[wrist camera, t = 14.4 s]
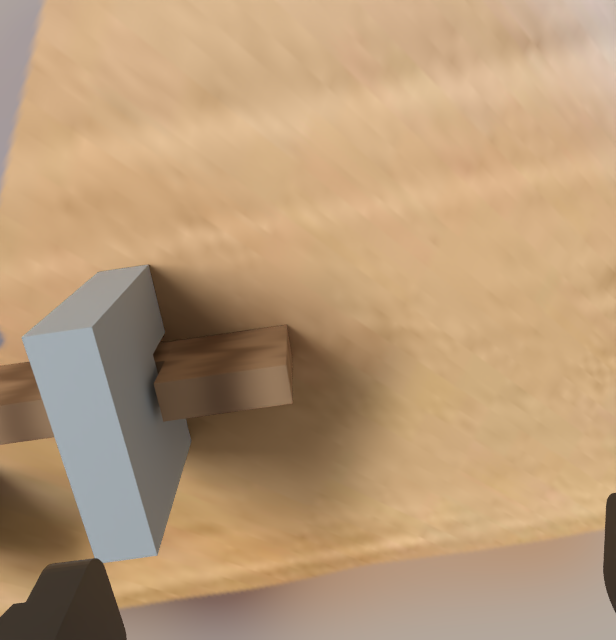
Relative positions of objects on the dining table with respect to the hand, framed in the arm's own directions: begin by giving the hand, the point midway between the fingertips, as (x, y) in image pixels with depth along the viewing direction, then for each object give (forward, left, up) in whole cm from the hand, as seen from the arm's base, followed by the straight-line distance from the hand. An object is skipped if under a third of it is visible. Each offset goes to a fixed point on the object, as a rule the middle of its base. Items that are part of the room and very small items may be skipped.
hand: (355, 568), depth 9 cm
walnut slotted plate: (+11, -15, -38) cm, 42 cm away
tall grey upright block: (+11, -15, -38) cm, 42 cm away
